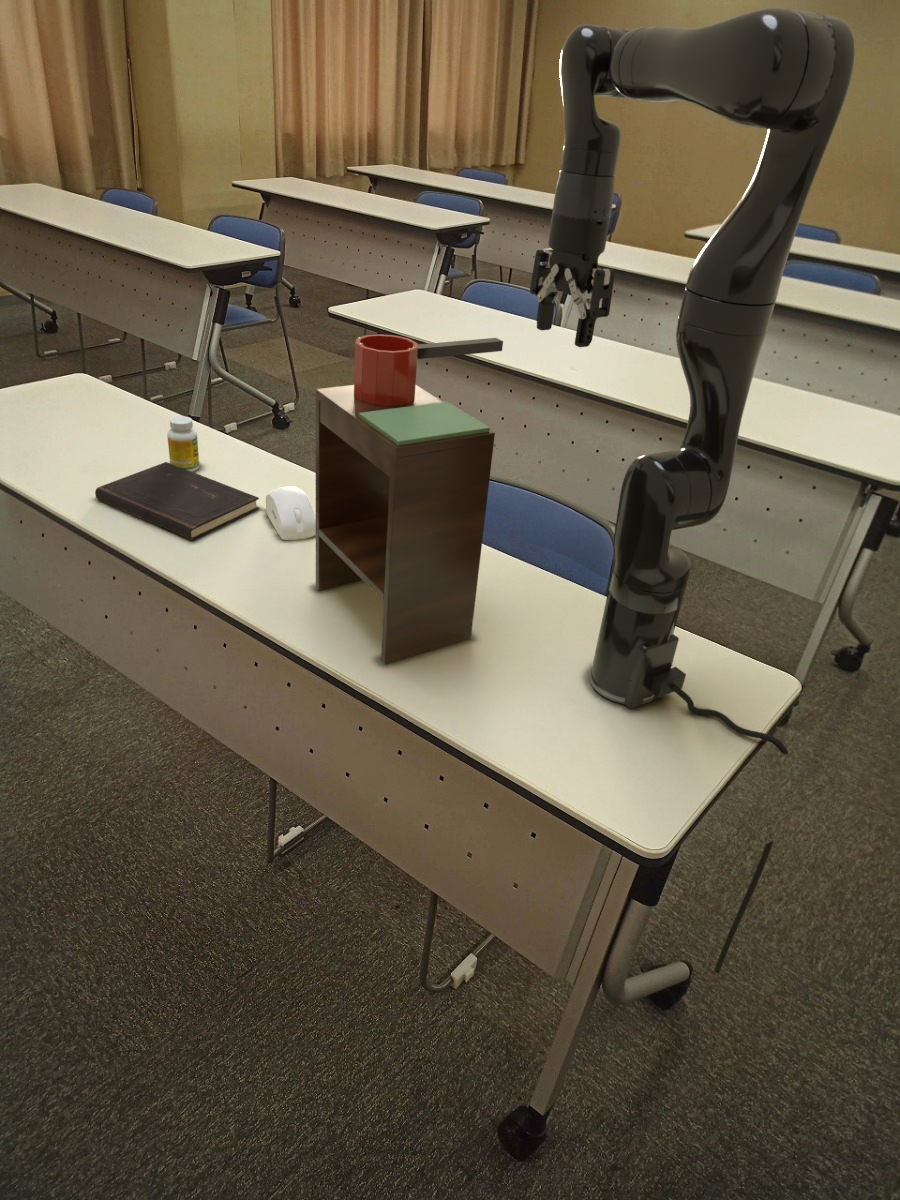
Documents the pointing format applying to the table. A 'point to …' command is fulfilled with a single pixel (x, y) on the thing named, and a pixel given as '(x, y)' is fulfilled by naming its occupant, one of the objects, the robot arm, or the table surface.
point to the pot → (402, 365)
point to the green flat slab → (423, 423)
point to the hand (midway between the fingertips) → (562, 337)
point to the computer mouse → (291, 513)
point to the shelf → (401, 521)
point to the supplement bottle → (183, 443)
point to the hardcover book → (178, 500)
